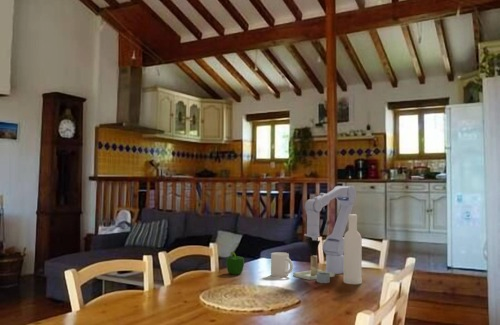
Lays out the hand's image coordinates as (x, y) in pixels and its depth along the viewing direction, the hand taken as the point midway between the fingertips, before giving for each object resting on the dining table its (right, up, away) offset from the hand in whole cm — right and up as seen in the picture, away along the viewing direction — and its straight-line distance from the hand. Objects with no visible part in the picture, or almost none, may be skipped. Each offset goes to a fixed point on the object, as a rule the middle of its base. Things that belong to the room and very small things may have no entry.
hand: (312, 254), depth 214 cm
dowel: (0, -10, -1) cm, 10 cm away
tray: (0, -10, -1) cm, 10 cm away
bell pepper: (-36, -10, +3) cm, 38 cm away
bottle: (+16, -10, -14) cm, 23 cm away
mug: (-14, -10, -1) cm, 18 cm away
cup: (+3, -10, -13) cm, 17 cm away
